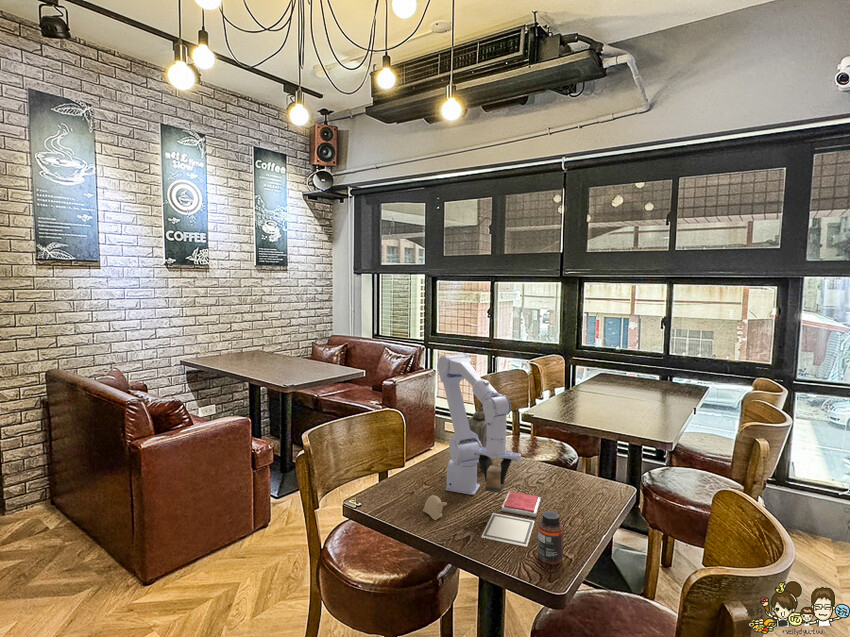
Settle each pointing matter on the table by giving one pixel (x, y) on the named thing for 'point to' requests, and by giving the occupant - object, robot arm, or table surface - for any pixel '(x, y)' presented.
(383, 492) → the table surface
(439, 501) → the decorative ornament
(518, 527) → the paper card
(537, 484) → the table surface
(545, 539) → the supplement bottle
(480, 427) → the tabletop clock
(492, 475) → the stamp
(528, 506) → the ink pad
